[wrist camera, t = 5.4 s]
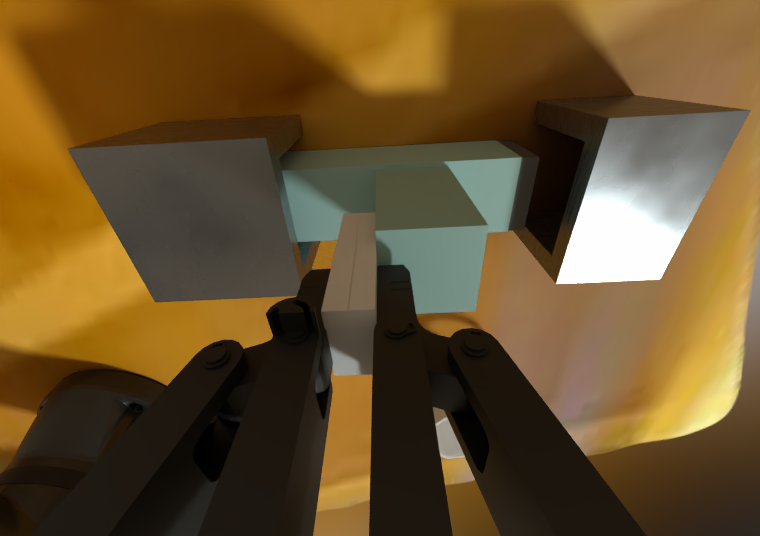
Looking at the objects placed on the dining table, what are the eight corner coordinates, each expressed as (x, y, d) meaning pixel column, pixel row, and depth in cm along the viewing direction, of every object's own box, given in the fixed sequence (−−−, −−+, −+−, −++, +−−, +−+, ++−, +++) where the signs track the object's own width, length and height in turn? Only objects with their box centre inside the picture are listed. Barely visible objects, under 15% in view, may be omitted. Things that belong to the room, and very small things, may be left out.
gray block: (208, 244, 25) (155, 302, 19) (160, 122, 20) (67, 148, 14) (320, 238, 25) (303, 295, 19) (299, 114, 20) (265, 137, 14)
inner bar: (220, 217, 24) (107, 331, 14) (199, 156, 21) (41, 241, 11) (500, 203, 23) (593, 310, 13) (511, 139, 21) (635, 211, 11)
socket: (512, 229, 25) (556, 283, 18) (537, 100, 20) (608, 118, 14) (589, 225, 24) (659, 279, 18) (635, 95, 19) (750, 110, 13)
